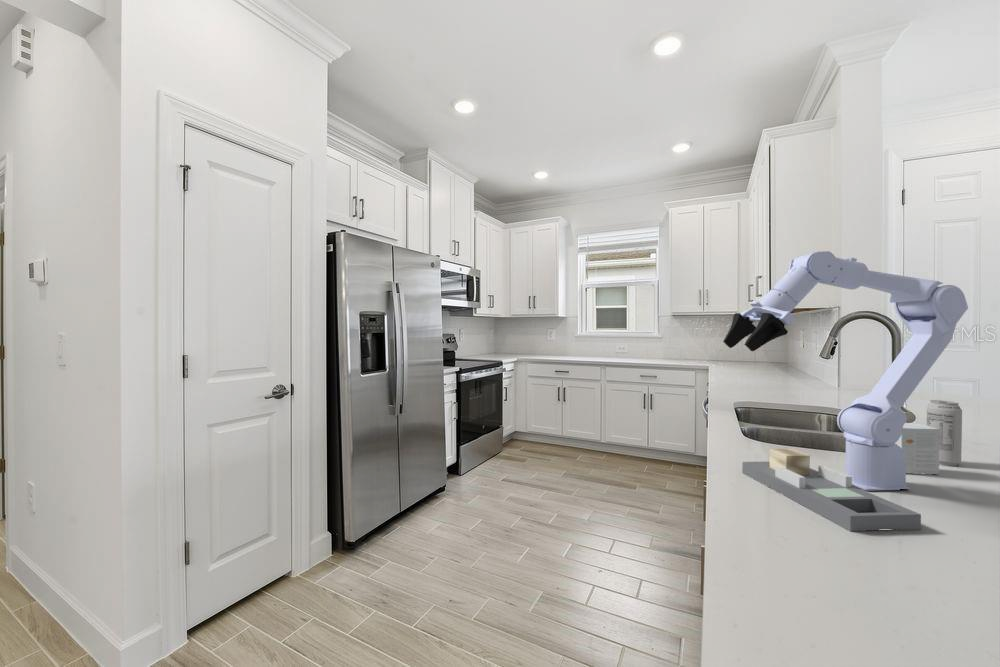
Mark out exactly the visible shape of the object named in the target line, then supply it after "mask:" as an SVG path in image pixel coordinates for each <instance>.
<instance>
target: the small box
mask: <svg viewBox="0 0 1000 667" xmlns="http://www.w3.org/2000/svg"><path fill="white" fill-rule="evenodd" d="M895 444H897V445H898V446H899V447H901V449H902V450H903V452H904V453H905V456H906V473H924V474H923V475H932V474H938V475H939V473H940V466H939V465H940V464H939V429H937V428H934V427H930V426H926V424H922V423H918V422H917V423H916V422H915V423H914V422H912V423H910V422H908V423H907V422H905V424H904V426H903V429H902V434H901V437H900V438H899V440H898V441H897V442H895Z"/></svg>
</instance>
